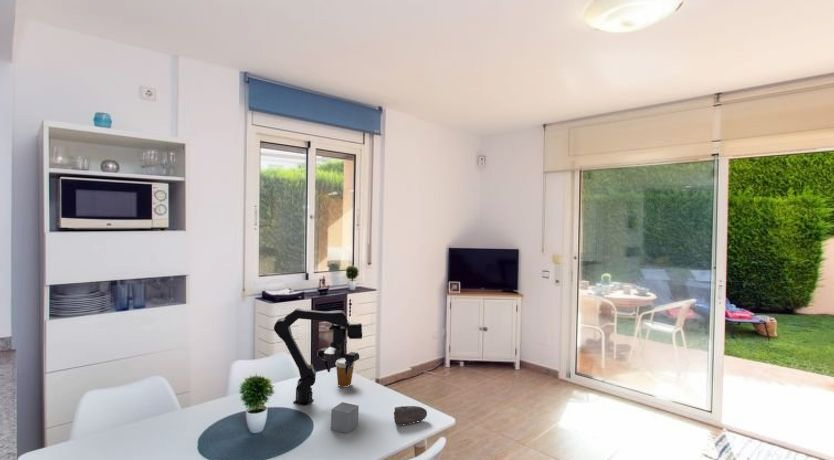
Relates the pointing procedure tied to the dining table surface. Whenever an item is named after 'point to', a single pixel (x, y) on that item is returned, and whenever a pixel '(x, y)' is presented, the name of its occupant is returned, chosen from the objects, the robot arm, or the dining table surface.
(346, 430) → the grey cube
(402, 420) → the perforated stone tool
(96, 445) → the dining table surface
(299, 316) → the robot arm
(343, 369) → the disposable coffee cup
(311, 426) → the dining table surface
